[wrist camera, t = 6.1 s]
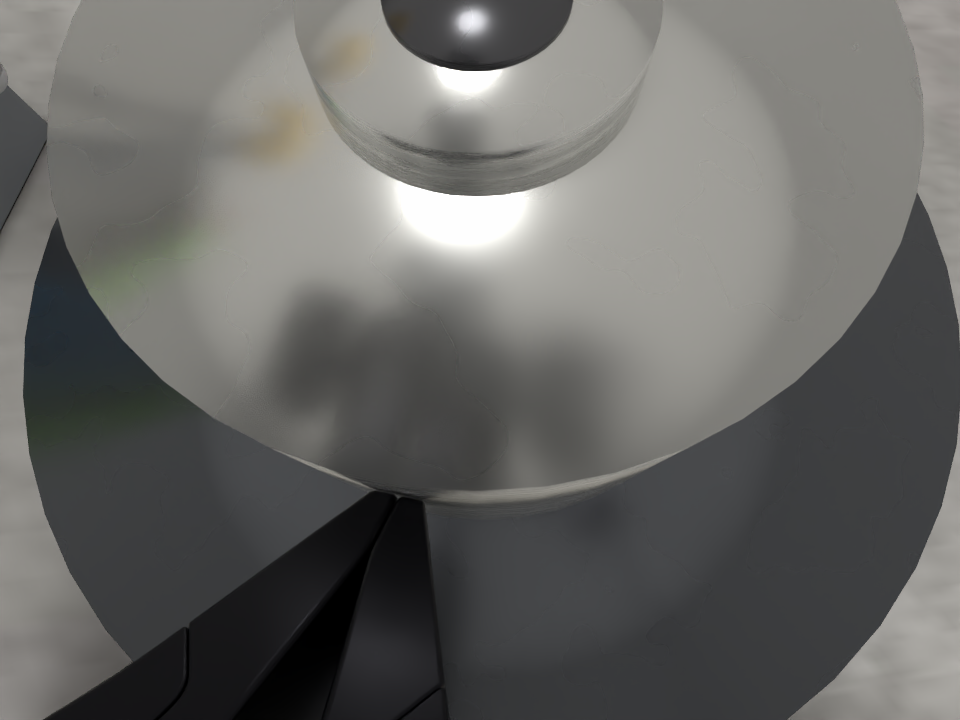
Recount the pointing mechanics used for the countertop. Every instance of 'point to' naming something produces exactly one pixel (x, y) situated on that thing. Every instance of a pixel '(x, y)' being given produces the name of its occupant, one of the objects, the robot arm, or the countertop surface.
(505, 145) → the cover
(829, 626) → the turntable
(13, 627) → the countertop surface
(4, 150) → the gauge stand
